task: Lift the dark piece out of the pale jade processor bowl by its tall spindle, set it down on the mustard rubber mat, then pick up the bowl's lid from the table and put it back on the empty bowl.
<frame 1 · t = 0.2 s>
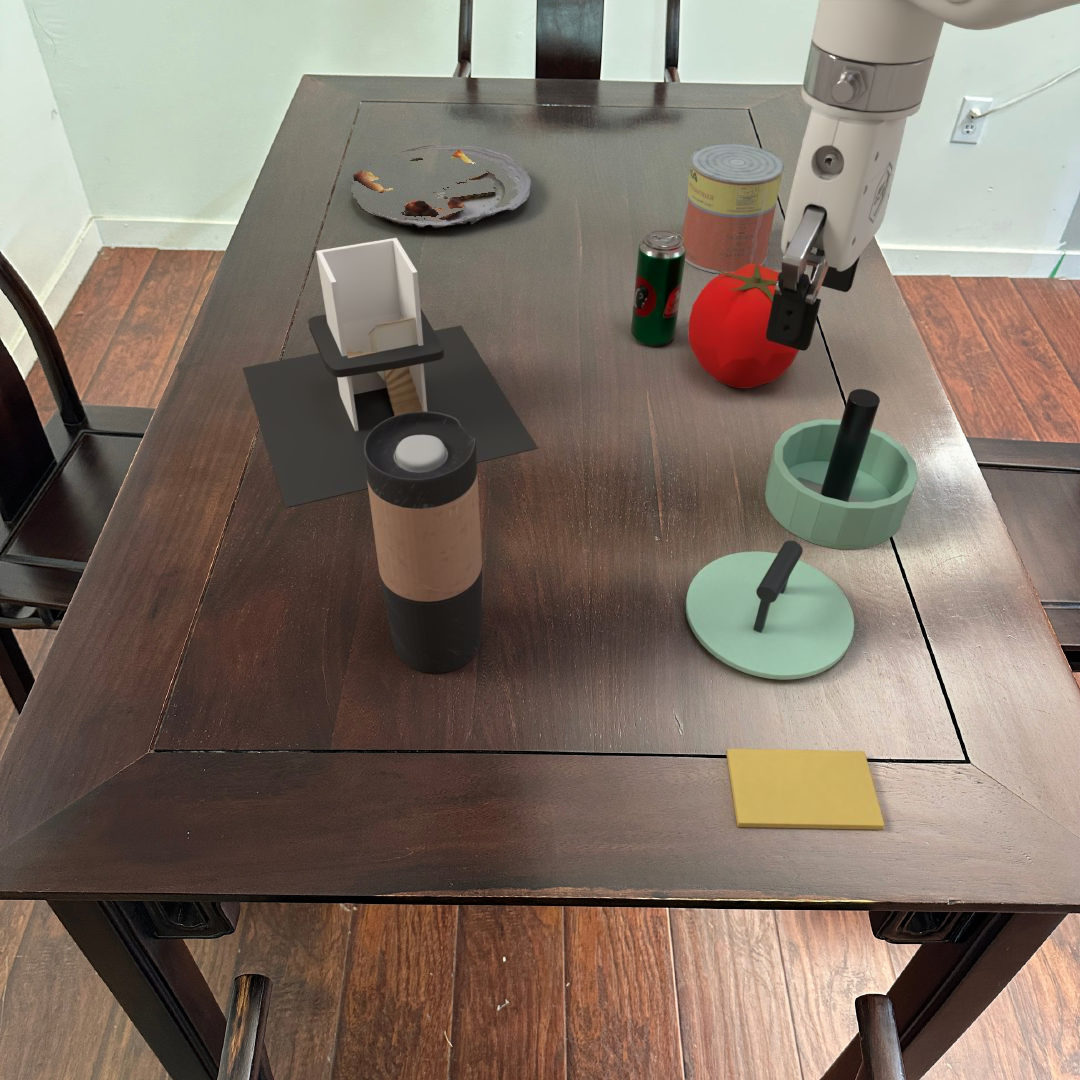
hand: (809, 314, 73), 22 cm above the table, tool pointing down, fingers open, 9 cm apart
lid: (768, 614, 80), point 1 cm above the table
dark piece: (833, 498, 90), resting on bowl
travel mug: (437, 640, 78), on the table
soda can: (652, 338, 111), on the table
mat: (802, 790, 68), on the table
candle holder: (383, 407, 101), on the table
bowl: (832, 502, 91), on the table
canned food: (722, 254, 126), on the table
food plate: (441, 198, 136), on the table
tomato: (738, 370, 106), on the table
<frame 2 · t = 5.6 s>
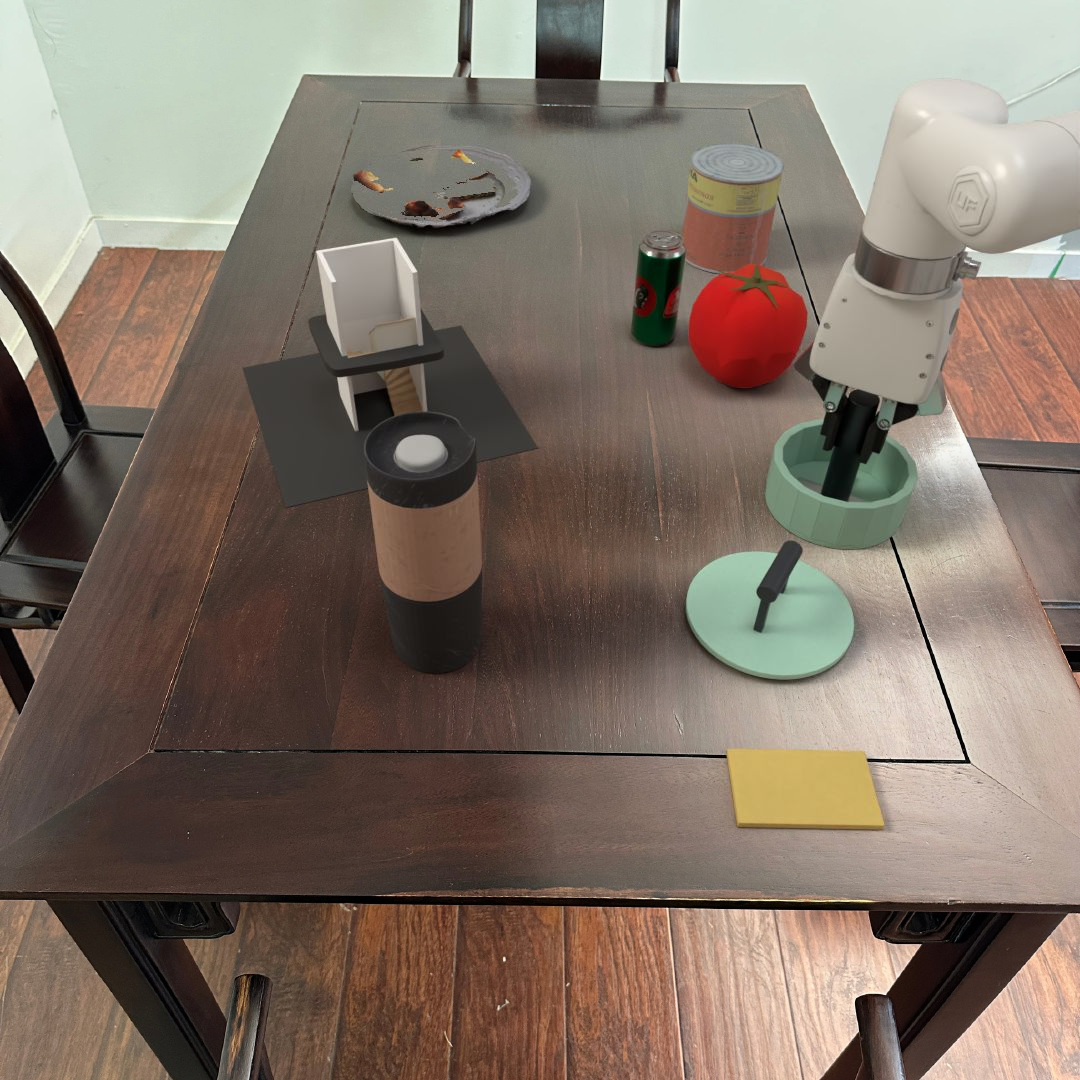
hand: (849, 447, 86), 7 cm above the table, tool pointing down, fingers closed on dark piece, 2 cm apart
dark piece: (833, 498, 90), point 1 cm above the table, touching bowl, gripper
everything else where it was.
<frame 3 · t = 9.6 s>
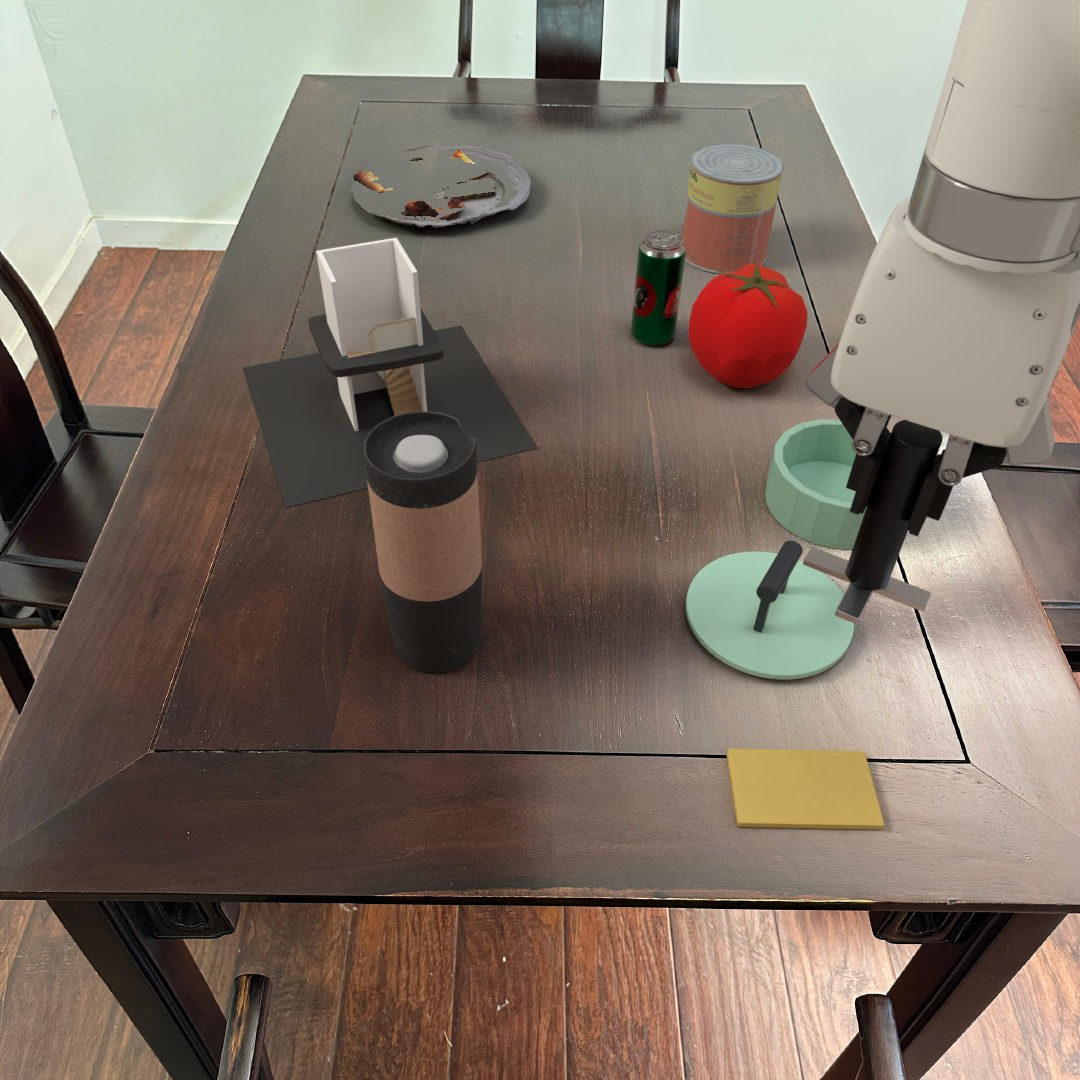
hand: (890, 508, 56), 23 cm above the table, tool pointing down, fingers closed on dark piece, 2 cm apart
dark piece: (865, 581, 60), point 17 cm above the table, touching gripper
everything else where it was.
when the fingers open (7 cm above the table, at t = 13.8 s): dark piece stays where it is, resting on mat.
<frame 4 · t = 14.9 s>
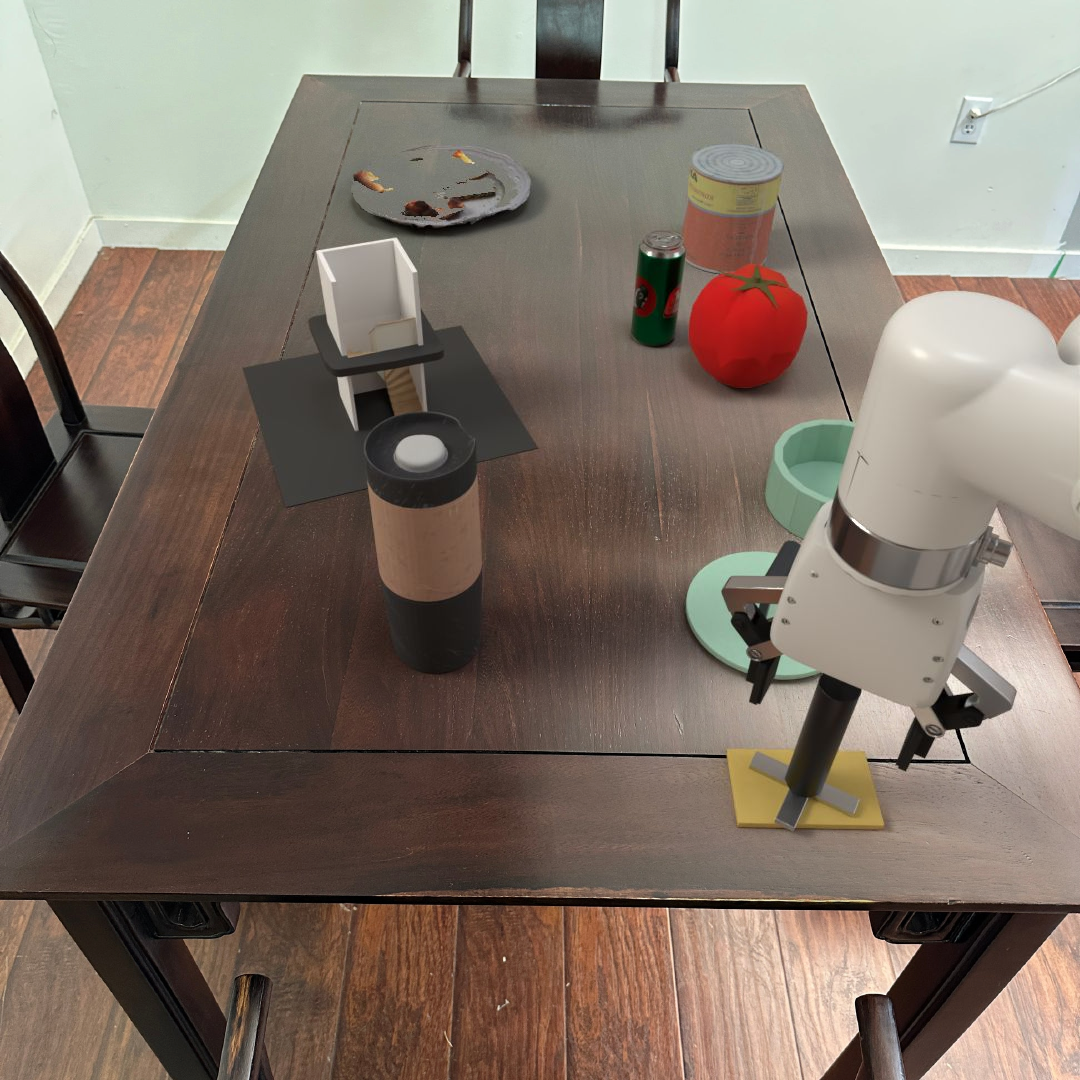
hand: (832, 720, 62), 9 cm above the table, tool pointing down, fingers open, 9 cm apart
dark piece: (802, 785, 68), point 1 cm above the table, touching mat
everything else where it was.
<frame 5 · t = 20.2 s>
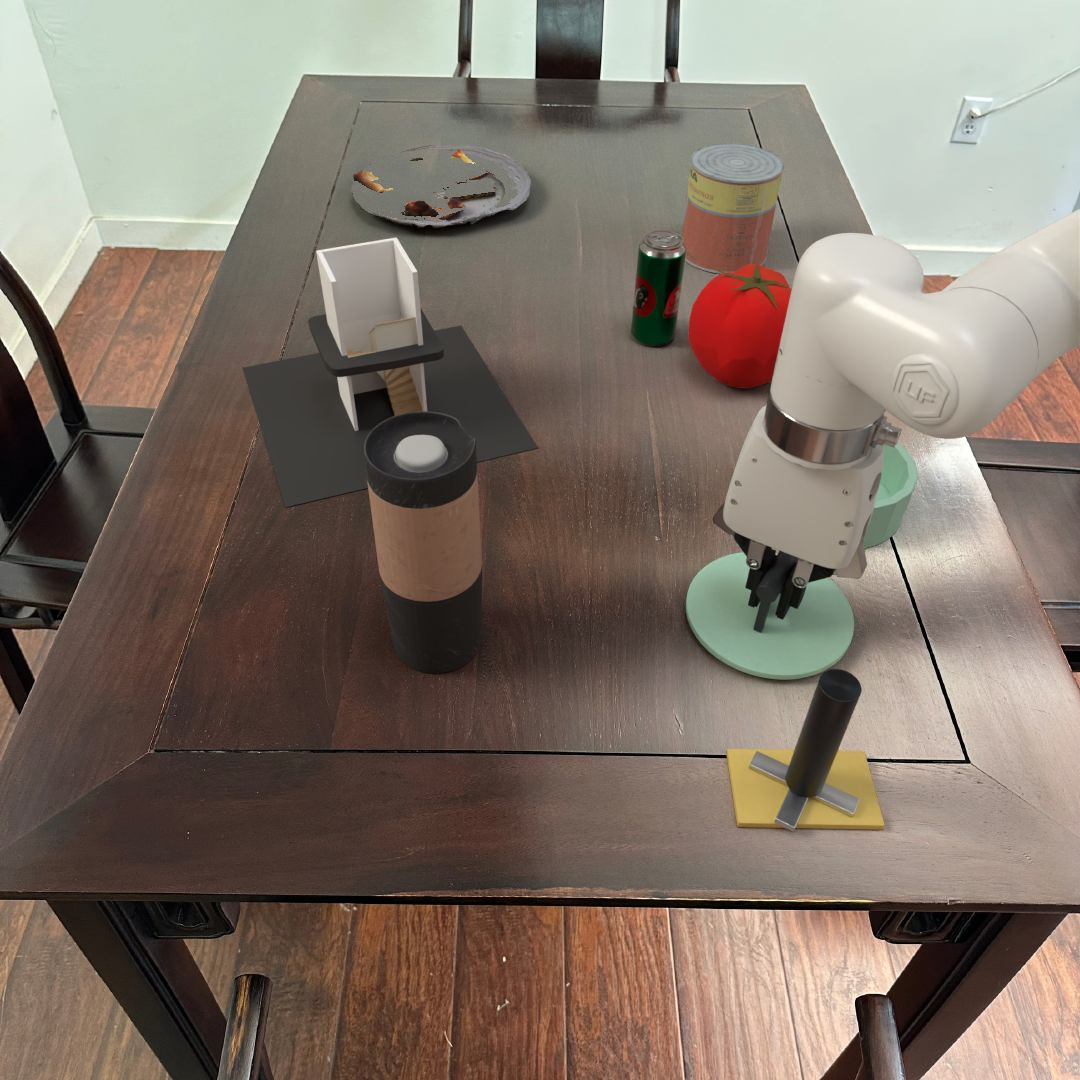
hand: (771, 600, 78), 2 cm above the table, tool pointing down, fingers closed on lid
lid: (768, 614, 80), point 1 cm above the table, touching gripper
everything else where it was.
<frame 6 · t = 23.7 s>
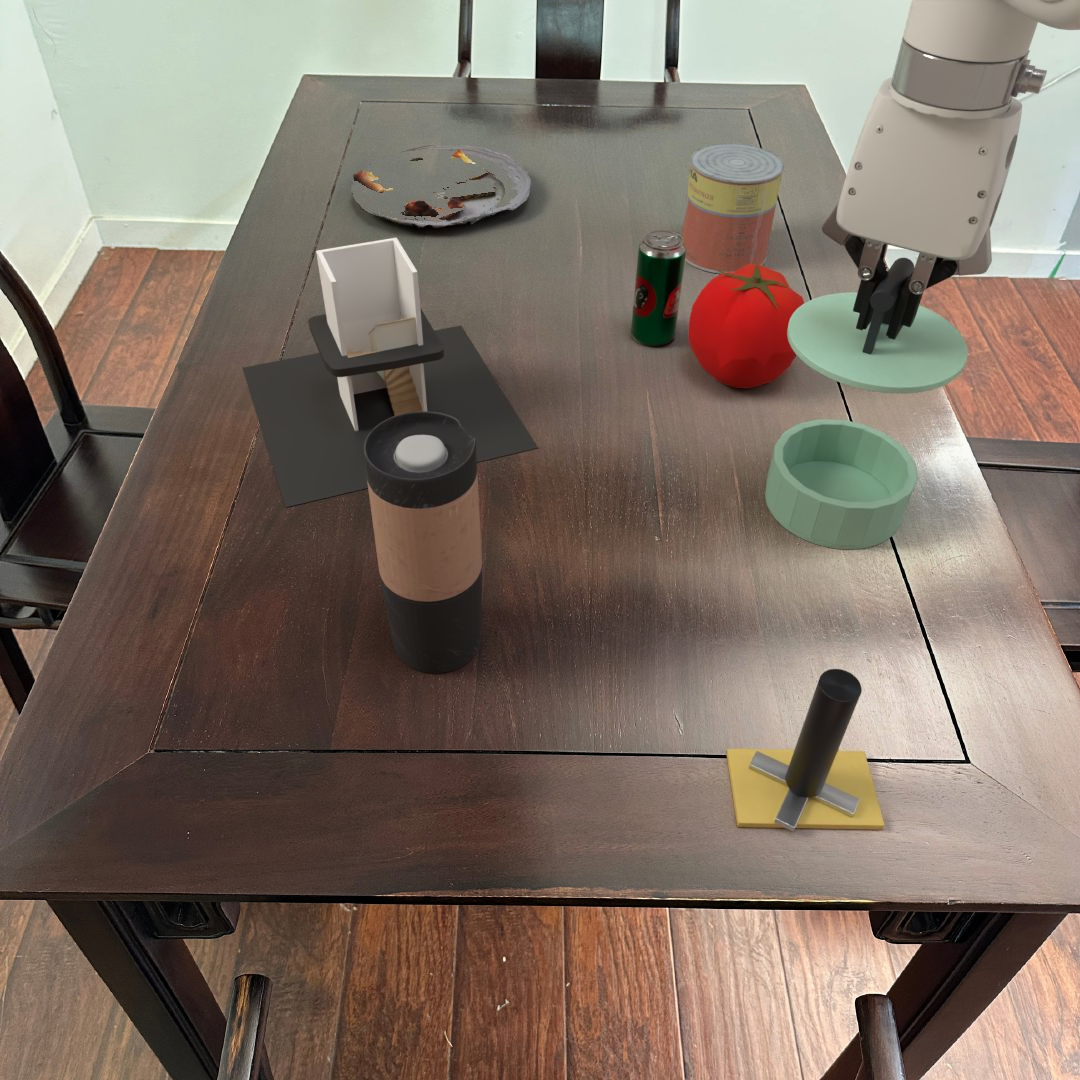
hand: (880, 324, 74), 21 cm above the table, tool pointing down, fingers closed on lid
lid: (875, 343, 75), point 19 cm above the table, touching gripper
everything else where it was.
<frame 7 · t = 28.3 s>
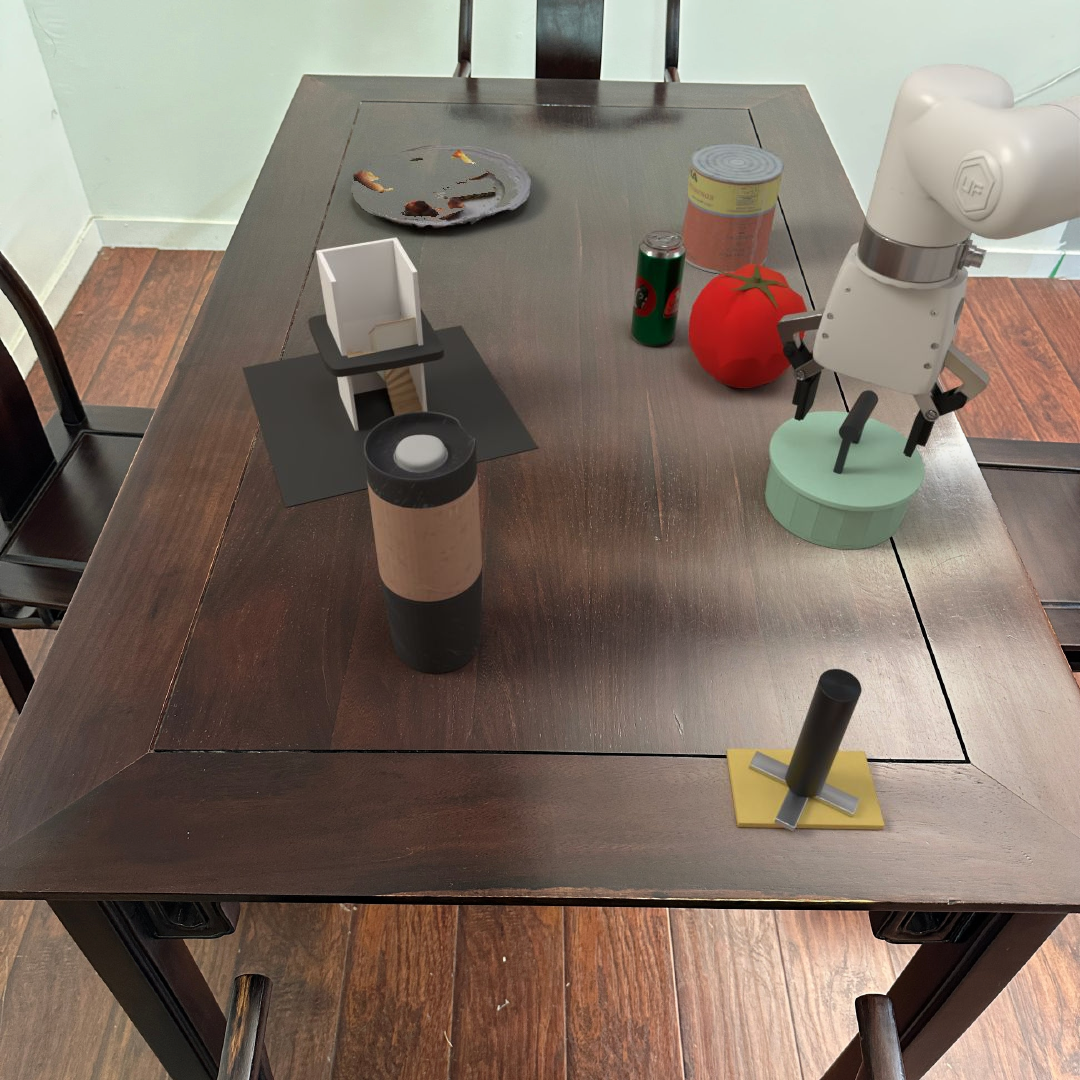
hand: (856, 429, 84), 9 cm above the table, tool pointing down, fingers open, 9 cm apart
lid: (845, 461, 87), point 5 cm above the table, touching bowl
everything else where it was.
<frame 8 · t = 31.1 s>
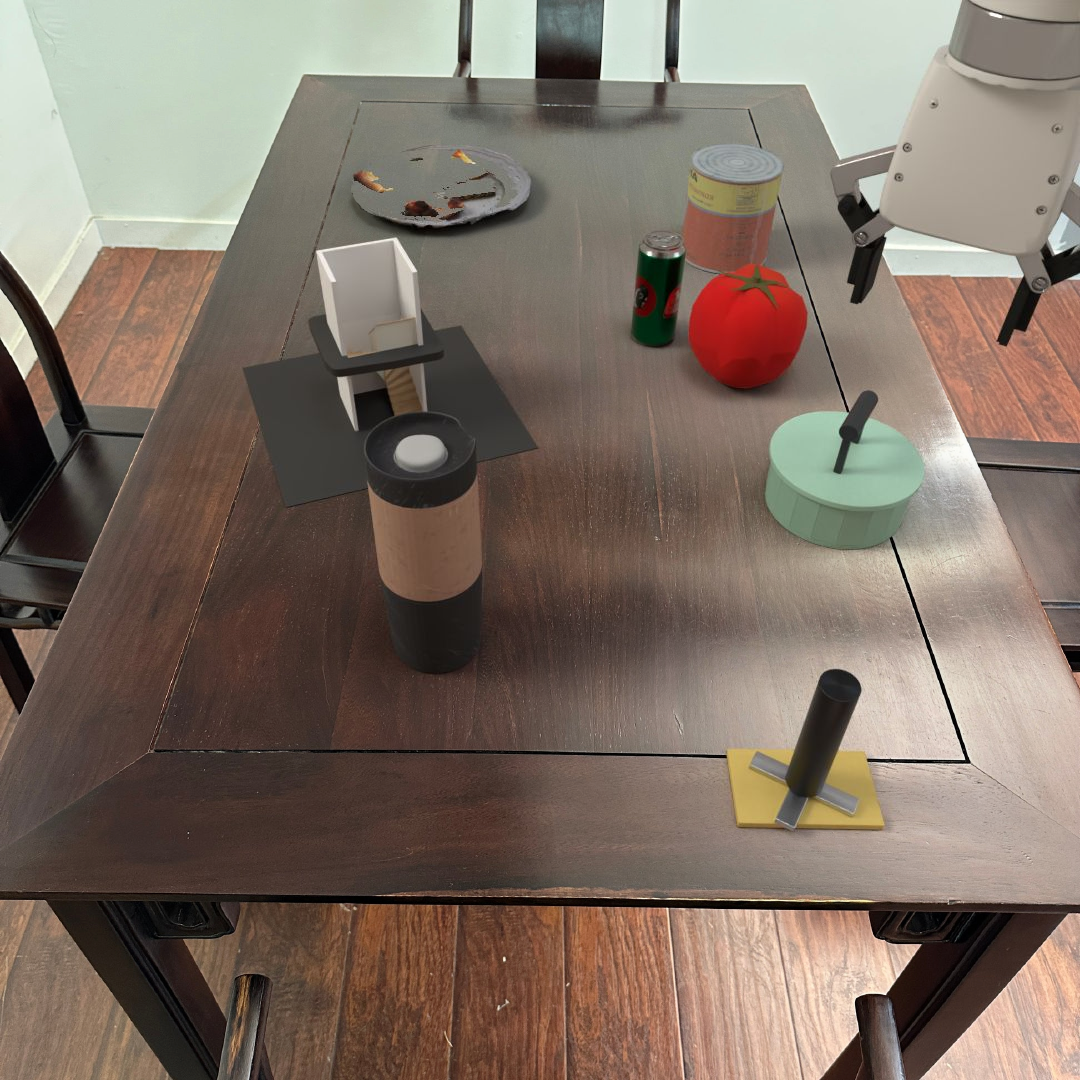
hand: (931, 315, 65), 26 cm above the table, tool pointing down, fingers open, 9 cm apart
nothing on the table moved.
at the end: dark piece inside the target area on the mat (0.1 cm from its centre), point 0.6 cm above the mat's base; lid 0.0 cm off-centre on the bowl, point 5.0 cm above the bowl's base; lid tilted 0° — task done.
